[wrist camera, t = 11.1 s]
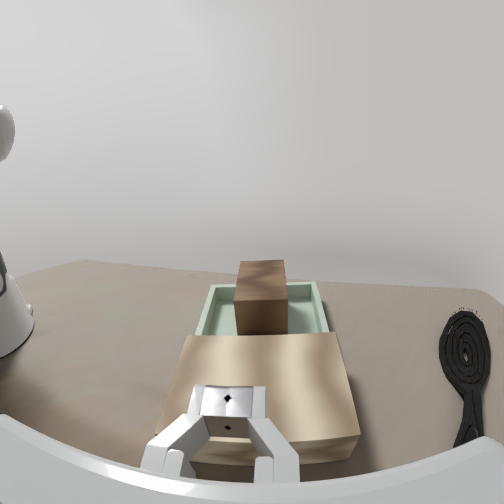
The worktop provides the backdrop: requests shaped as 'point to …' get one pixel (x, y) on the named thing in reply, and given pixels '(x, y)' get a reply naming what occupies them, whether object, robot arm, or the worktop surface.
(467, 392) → the hairbrush
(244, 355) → the birch stand
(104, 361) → the worktop surface
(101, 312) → the worktop surface
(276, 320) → the walnut block
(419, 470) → the robot arm
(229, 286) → the tray
